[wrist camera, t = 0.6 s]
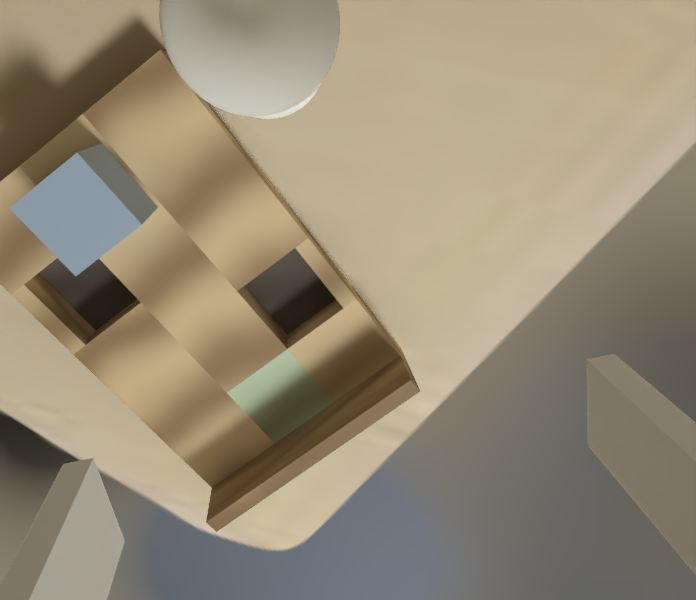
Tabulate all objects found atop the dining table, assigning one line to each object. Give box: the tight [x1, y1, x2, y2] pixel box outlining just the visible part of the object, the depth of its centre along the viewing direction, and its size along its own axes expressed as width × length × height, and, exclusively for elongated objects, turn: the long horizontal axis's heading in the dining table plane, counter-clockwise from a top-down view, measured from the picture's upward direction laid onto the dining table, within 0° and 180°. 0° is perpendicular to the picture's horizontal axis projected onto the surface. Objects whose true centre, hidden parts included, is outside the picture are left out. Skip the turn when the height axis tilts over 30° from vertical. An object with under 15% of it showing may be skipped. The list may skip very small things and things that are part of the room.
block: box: [9, 143, 158, 276], centre depth 33 cm, size 4×4×4 cm
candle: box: [159, 0, 340, 119], centre depth 24 cm, size 7×7×25 cm
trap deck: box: [0, 50, 420, 532], centre depth 37 cm, size 24×16×6 cm, turn 36°
